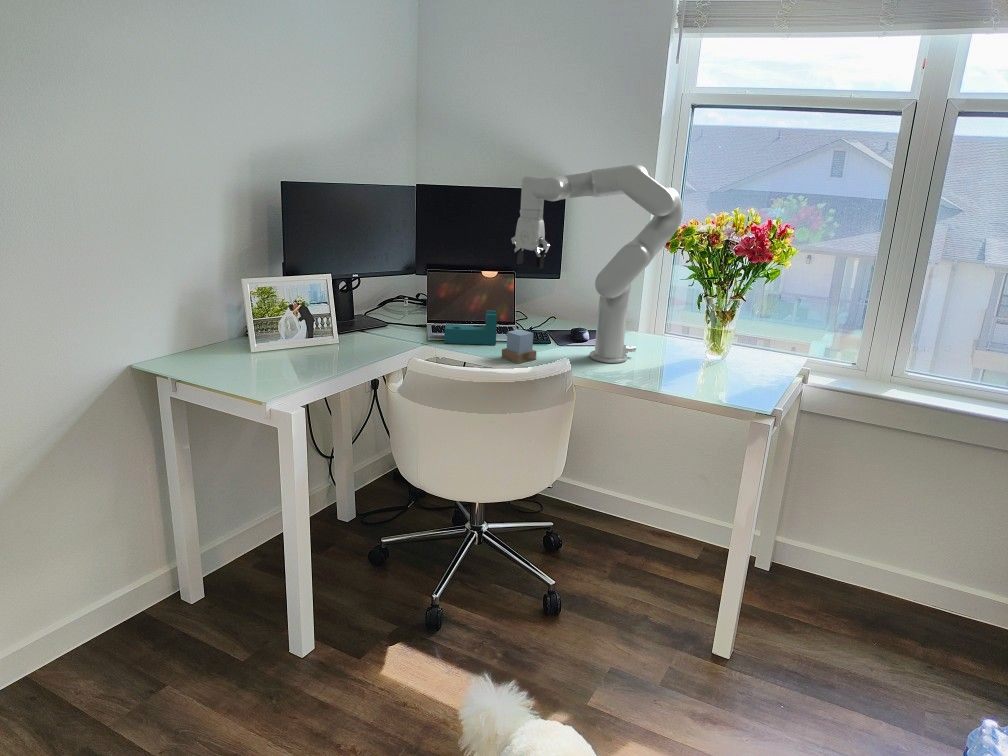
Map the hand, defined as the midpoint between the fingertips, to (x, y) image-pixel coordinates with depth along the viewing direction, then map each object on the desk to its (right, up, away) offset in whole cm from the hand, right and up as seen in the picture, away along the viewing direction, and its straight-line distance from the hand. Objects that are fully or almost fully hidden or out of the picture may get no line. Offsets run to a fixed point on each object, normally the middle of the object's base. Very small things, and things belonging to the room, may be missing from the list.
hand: (528, 266), depth 247 cm
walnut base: (-4, -31, -5) cm, 32 cm away
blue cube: (-3, -29, -6) cm, 30 cm away
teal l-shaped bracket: (-21, -25, +13) cm, 35 cm away
